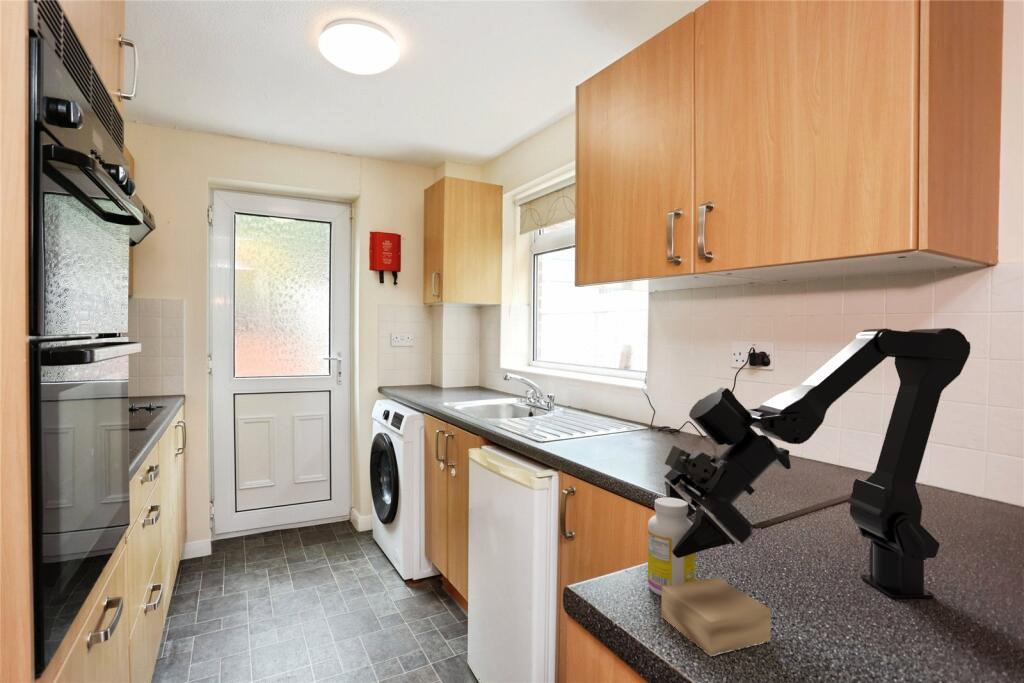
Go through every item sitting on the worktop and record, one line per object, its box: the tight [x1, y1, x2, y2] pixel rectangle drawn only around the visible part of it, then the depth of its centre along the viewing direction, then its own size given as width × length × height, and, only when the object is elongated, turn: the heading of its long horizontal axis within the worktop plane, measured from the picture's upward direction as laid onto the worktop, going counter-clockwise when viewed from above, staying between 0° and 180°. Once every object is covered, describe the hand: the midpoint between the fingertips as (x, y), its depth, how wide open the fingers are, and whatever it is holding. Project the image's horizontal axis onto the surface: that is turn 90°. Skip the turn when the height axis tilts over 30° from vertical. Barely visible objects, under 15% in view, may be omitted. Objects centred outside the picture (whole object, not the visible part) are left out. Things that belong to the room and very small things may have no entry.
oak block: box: [661, 576, 772, 655], centre depth 64 cm, size 9×9×4 cm
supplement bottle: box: [647, 496, 696, 597], centre depth 74 cm, size 7×7×13 cm
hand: (663, 542), depth 74 cm, fingers open, 9 cm apart
